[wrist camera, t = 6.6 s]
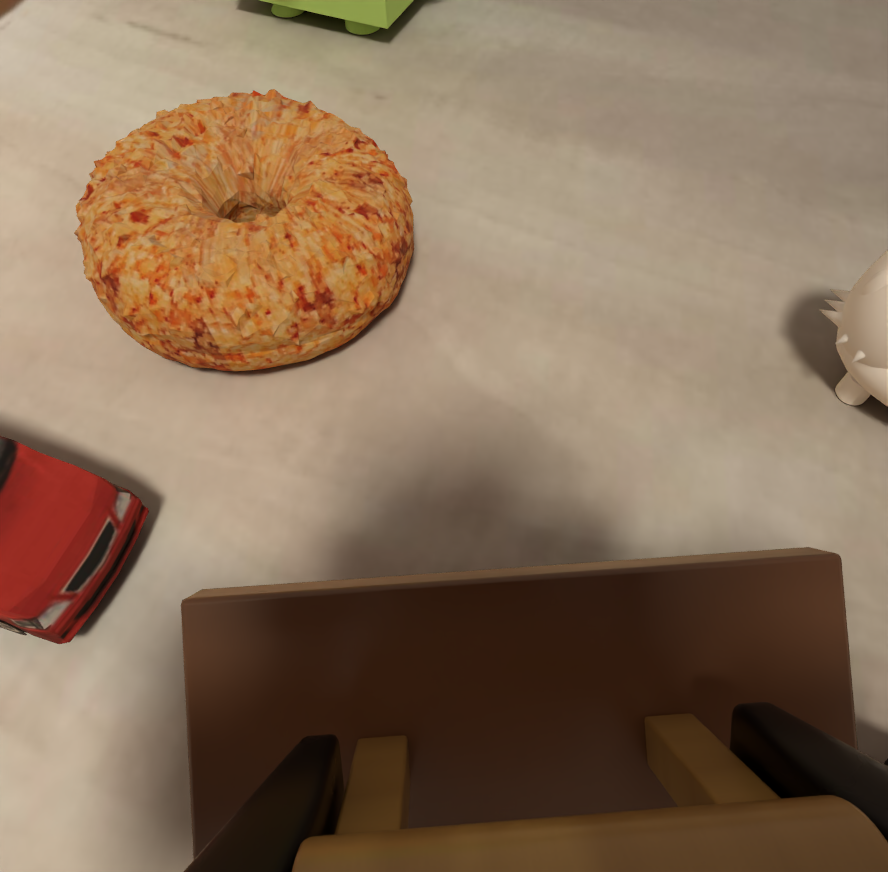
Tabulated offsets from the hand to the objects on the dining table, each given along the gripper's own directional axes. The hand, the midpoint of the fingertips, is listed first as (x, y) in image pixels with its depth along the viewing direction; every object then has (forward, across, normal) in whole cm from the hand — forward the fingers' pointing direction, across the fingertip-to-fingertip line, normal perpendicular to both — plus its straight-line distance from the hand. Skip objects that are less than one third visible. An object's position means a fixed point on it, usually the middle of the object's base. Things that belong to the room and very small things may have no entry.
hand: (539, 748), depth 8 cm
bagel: (+22, +8, -6) cm, 25 cm away
